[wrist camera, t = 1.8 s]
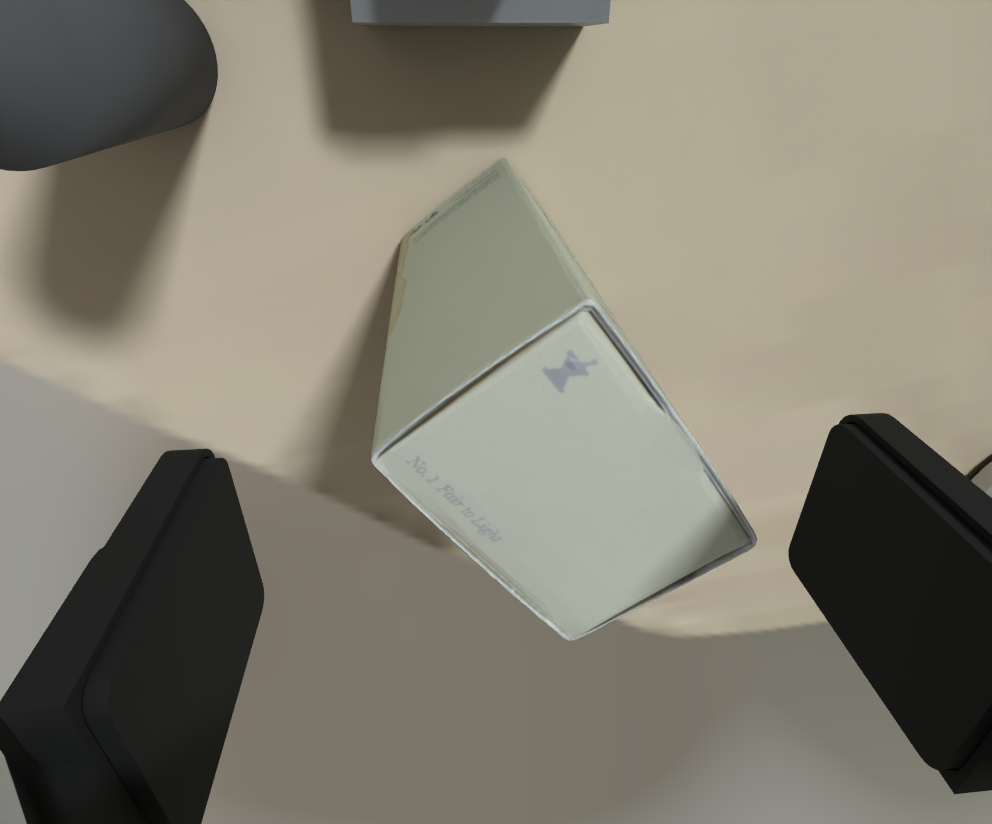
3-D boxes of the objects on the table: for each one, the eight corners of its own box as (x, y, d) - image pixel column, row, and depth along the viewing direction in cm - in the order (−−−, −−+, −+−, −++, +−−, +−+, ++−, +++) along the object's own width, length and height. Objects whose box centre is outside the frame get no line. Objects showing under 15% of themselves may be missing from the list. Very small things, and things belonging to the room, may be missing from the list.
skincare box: (397, 236, 20) (341, 453, 9) (509, 148, 18) (588, 281, 8) (510, 373, 22) (563, 655, 12) (612, 304, 21) (769, 550, 11)
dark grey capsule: (199, -25, 16) (46, -67, 10) (230, 127, 18) (118, 170, 12) (55, -26, 16) (-190, -69, 10) (103, 128, 17) (-79, 172, 11)
